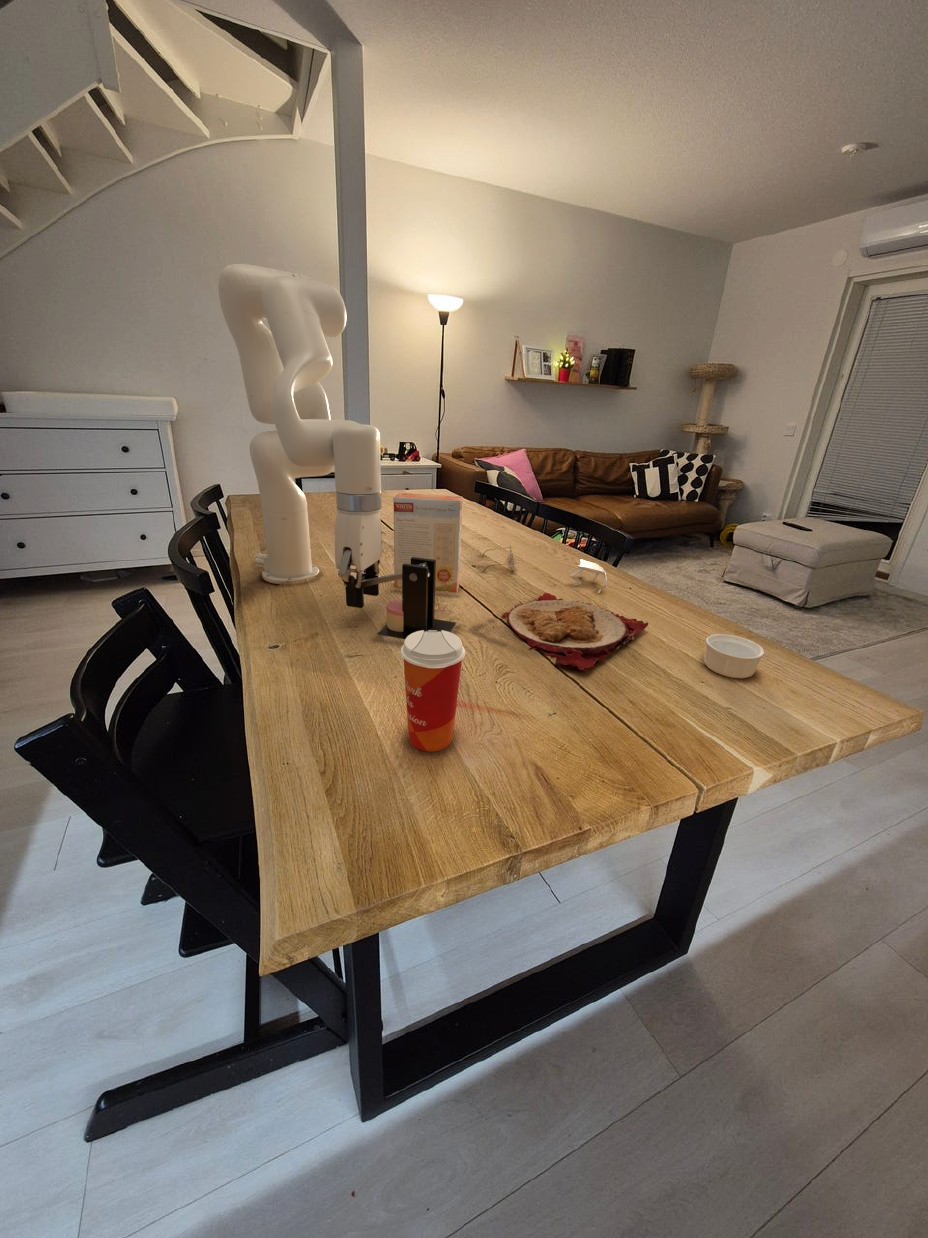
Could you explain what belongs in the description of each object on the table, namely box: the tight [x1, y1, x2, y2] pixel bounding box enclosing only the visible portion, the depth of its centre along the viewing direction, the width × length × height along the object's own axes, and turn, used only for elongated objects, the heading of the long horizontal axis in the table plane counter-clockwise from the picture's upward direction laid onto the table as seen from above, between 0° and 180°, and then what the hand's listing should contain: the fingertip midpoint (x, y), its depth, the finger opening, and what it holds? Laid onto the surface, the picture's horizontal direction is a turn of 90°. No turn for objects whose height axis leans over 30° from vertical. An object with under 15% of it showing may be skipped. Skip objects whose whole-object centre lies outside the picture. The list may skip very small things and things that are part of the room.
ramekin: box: [703, 633, 765, 679], centre depth 85 cm, size 9×9×4 cm
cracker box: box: [392, 492, 463, 593], centre depth 109 cm, size 14×6×21 cm, turn 84°
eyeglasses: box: [481, 545, 515, 573], centre depth 131 cm, size 14×8×4 cm, turn 179°
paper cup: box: [400, 630, 466, 753], centre depth 62 cm, size 8×8×14 cm
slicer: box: [377, 557, 458, 640], centre depth 89 cm, size 12×10×14 cm
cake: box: [385, 599, 403, 632], centre depth 92 cm, size 6×6×4 cm
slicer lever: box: [361, 563, 430, 587], centre depth 89 cm, size 14×6×2 cm, turn 74°
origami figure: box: [568, 558, 608, 594], centre depth 119 cm, size 12×8×5 cm
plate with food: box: [492, 592, 650, 671], centre depth 96 cm, size 24×26×3 cm
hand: (363, 599), depth 92 cm, fingers closed on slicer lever, 5 cm apart
